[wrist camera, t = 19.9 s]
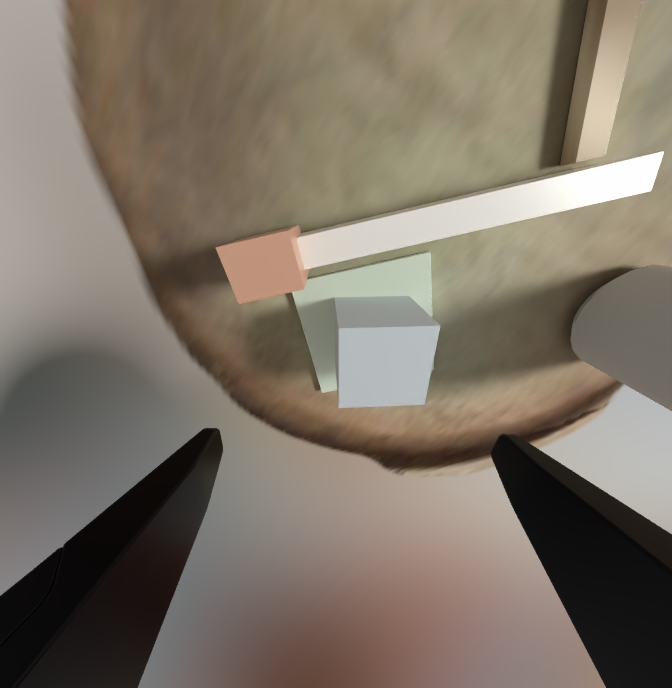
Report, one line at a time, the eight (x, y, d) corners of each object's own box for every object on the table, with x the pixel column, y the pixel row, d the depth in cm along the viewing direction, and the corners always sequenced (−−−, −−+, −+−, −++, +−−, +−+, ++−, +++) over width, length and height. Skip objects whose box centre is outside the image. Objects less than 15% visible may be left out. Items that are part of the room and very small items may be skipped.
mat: (290, 282, 16) (289, 283, 16) (428, 251, 16) (430, 252, 15) (322, 389, 20) (322, 392, 20) (432, 367, 20) (434, 370, 20)
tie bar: (248, 236, 14) (215, 247, 10) (599, 153, 13) (737, 123, 9) (262, 277, 15) (238, 303, 11) (587, 203, 14) (704, 200, 10)
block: (334, 361, 19) (338, 408, 14) (334, 297, 16) (338, 328, 12) (400, 360, 19) (424, 404, 15) (409, 295, 17) (440, 325, 12)
